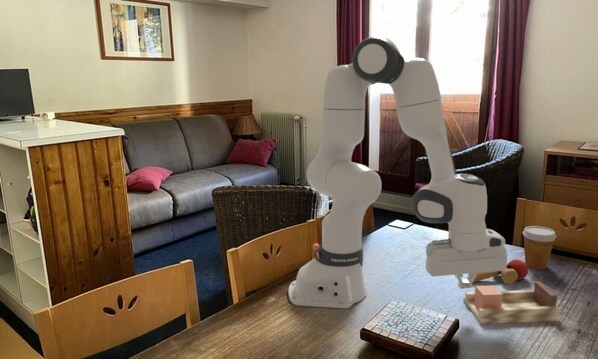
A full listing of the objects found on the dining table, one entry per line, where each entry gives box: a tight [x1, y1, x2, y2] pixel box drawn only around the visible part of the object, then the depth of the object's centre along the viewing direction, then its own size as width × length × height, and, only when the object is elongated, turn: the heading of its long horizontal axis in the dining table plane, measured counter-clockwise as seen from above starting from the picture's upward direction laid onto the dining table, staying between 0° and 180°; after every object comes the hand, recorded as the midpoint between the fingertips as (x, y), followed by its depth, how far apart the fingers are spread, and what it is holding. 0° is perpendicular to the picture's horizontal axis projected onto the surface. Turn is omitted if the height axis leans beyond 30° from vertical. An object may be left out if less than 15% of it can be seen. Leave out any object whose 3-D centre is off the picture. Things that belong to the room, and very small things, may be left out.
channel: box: [463, 281, 561, 325], centre depth 120 cm, size 20×12×6 cm, turn 92°
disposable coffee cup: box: [522, 225, 557, 270], centre depth 147 cm, size 10×10×12 cm
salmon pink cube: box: [474, 284, 503, 309], centre depth 120 cm, size 5×5×5 cm
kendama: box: [467, 259, 529, 285], centre depth 138 cm, size 8×6×18 cm
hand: (464, 287), depth 119 cm, fingers closed
